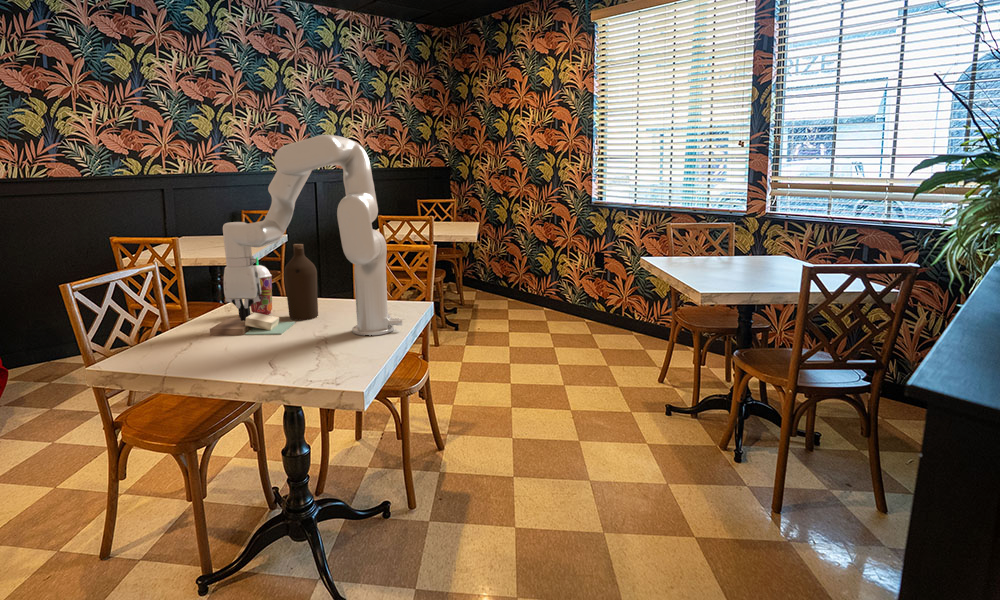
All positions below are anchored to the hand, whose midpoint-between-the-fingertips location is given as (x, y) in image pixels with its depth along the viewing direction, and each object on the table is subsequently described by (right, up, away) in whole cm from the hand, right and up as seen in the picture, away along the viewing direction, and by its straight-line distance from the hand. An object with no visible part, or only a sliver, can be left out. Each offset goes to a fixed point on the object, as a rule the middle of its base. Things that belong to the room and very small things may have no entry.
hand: (245, 319), depth 188 cm
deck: (-3, -3, +1) cm, 4 cm away
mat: (+8, -3, +1) cm, 8 cm away
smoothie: (-3, +1, +20) cm, 20 cm away
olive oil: (+13, 0, +16) cm, 21 cm away
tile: (+5, 0, 0) cm, 5 cm away
